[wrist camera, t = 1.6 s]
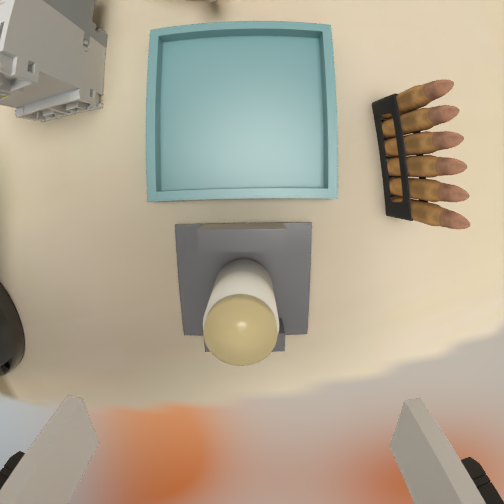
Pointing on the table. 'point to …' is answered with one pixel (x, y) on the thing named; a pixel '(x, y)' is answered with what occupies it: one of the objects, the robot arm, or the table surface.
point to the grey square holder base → (251, 247)
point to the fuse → (241, 314)
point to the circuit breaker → (50, 58)
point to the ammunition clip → (418, 155)
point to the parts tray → (241, 111)
